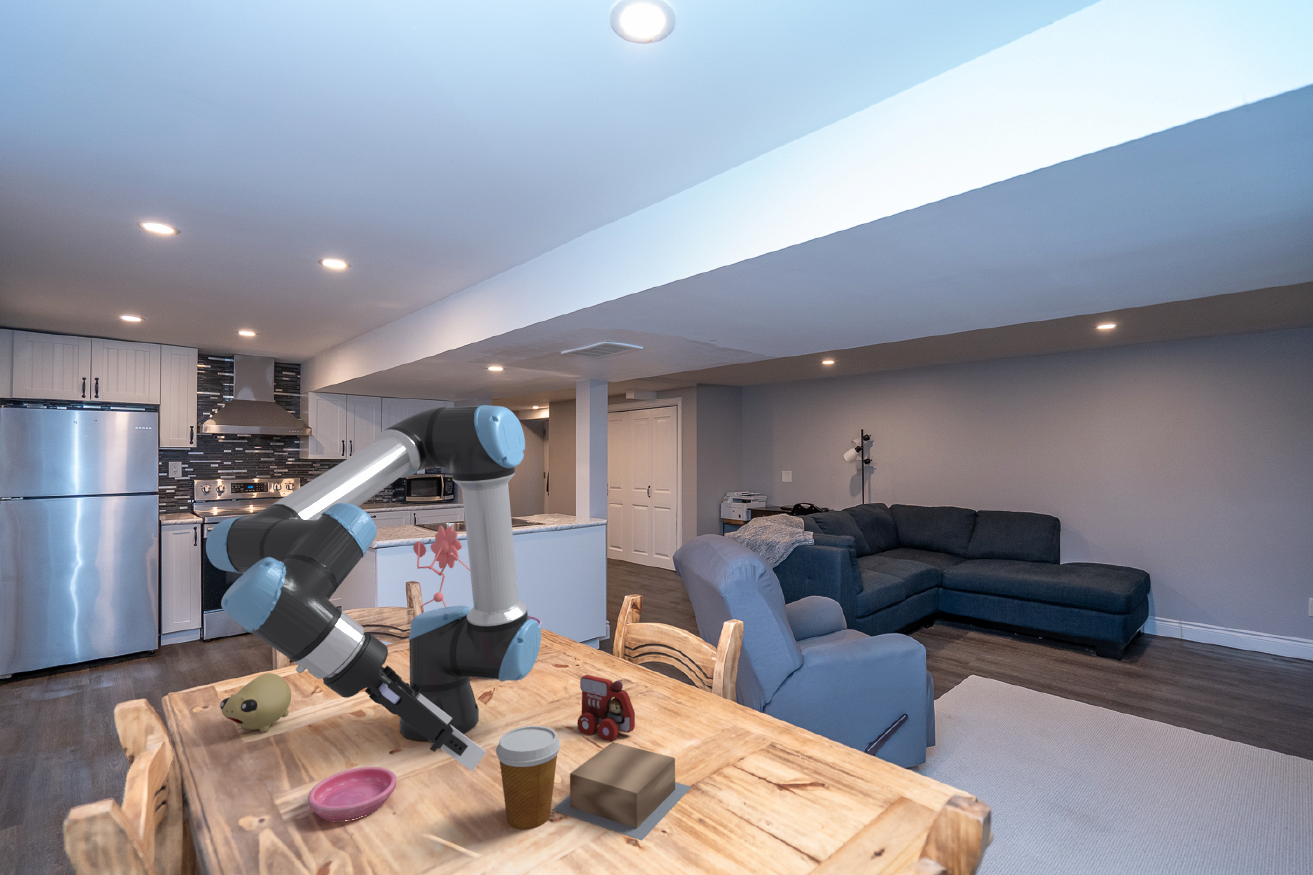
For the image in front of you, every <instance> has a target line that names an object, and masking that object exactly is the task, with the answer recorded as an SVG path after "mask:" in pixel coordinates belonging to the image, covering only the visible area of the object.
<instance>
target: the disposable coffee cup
mask: <svg viewBox="0 0 1313 875" xmlns="http://www.w3.org/2000/svg"><path fill="white" fill-rule="evenodd" d="M561 745H562V744H561V741H560V739H559V737H558V734H557V732H556V730H554V729H553V728H551V727H547V726H543V725H542V726H541V725H528V726H527V725H525V726H521V727H517V728H513V729H511V730H509V731H506V732H505V733H503V734H502V736H501V737H500V738H499V741H498V744H497V747H496V749H495V754H496V756H497V758H498V760H499V765H500V774H501V776H500V777H501V782H502V790H503V798H504V807H505V815H506V822H507V823H508V825H509V826H510V827H511V828H514V829H516V830H517V829H518V830H531V829H532V830H533V829H536V828H538V827H541V826H542V825H545V823H547V822H548V821H549V820H550V818H551V812H552V804H553V803H552V802H553V795H554V787H555V785H554V784H555V778H556V768H557V759H558V753H559V751H560V748H561Z"/></svg>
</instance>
